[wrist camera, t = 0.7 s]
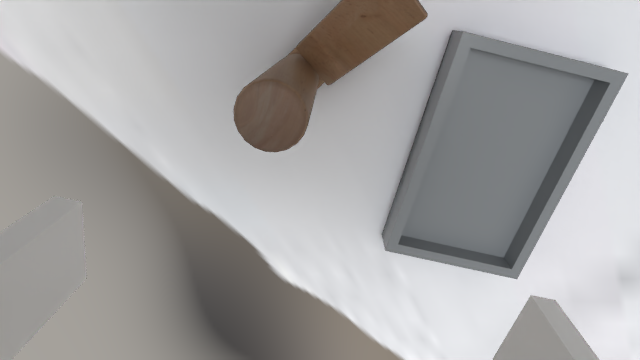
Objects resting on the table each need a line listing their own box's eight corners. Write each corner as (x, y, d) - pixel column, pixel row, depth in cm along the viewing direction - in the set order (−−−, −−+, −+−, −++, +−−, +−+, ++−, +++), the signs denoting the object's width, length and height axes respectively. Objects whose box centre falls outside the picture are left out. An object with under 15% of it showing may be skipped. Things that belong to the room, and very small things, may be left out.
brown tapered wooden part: (391, 17, 32) (452, 14, 15) (299, 100, 35) (268, 172, 19) (364, -19, 31) (398, -64, 14) (271, 70, 34) (213, 117, 18)
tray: (452, 30, 32) (463, 31, 29) (603, 69, 33) (628, 73, 30) (381, 234, 40) (385, 250, 38) (504, 261, 41) (516, 279, 38)
